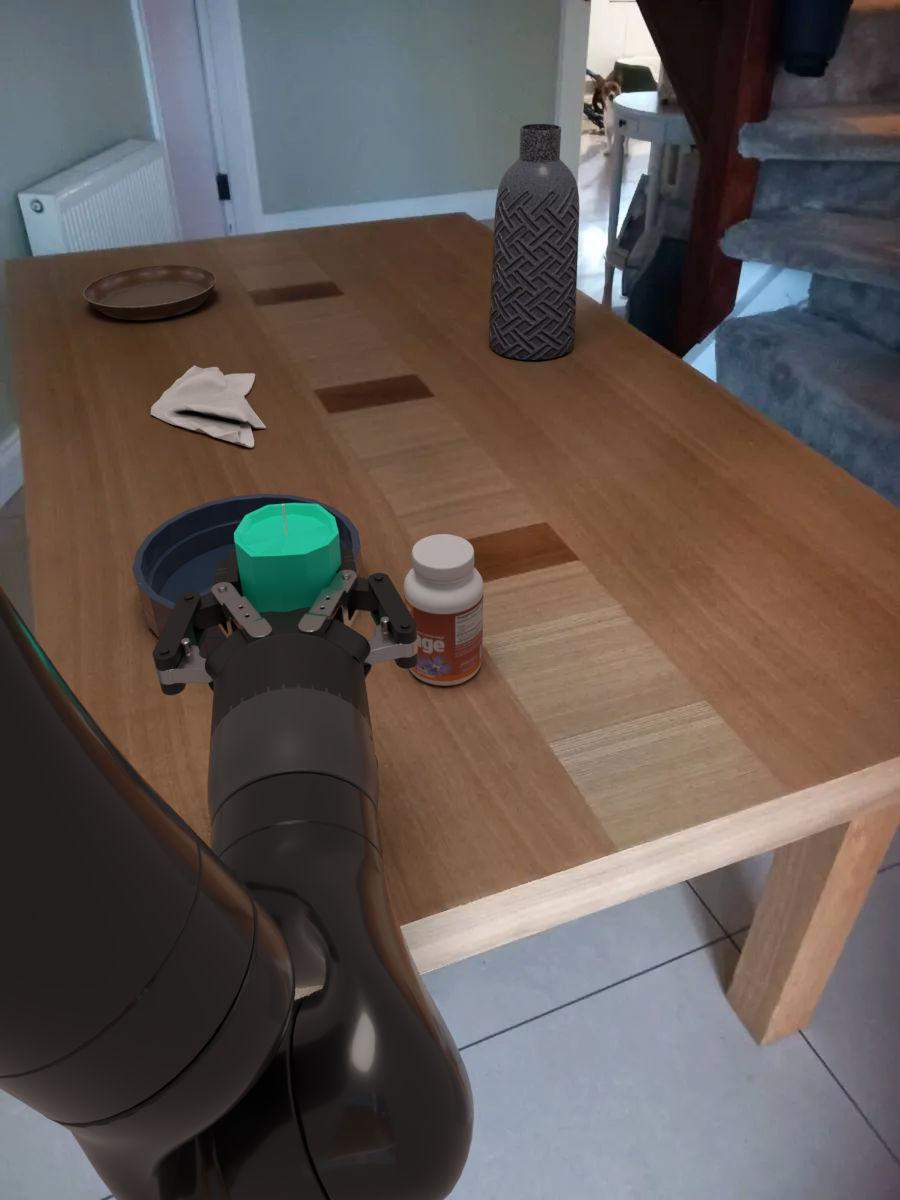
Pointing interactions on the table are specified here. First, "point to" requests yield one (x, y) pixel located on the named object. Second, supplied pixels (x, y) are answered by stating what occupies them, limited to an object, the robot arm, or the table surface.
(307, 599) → the candle
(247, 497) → the bowl
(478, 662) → the pill bottle
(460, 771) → the table surface
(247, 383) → the cloth
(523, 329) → the vase
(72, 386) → the table surface
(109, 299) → the plant saucer
